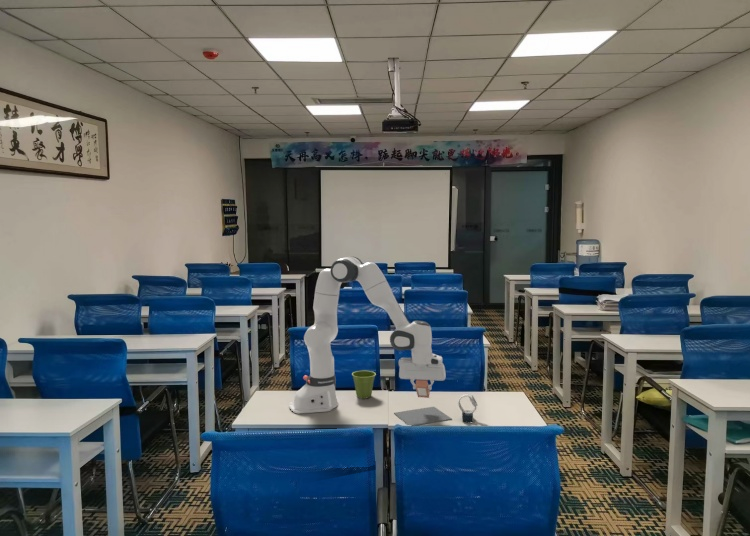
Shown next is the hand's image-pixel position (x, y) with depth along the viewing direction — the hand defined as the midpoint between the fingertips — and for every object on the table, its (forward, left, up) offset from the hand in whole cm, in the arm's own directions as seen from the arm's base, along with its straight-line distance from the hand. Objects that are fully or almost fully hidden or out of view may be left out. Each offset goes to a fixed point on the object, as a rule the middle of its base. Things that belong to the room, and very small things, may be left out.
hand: (422, 389), depth 219 cm
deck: (+3, +4, -4) cm, 6 cm away
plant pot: (-15, +33, -12) cm, 38 cm away
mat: (-1, -2, -11) cm, 12 cm away
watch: (+15, -13, -12) cm, 23 cm away
